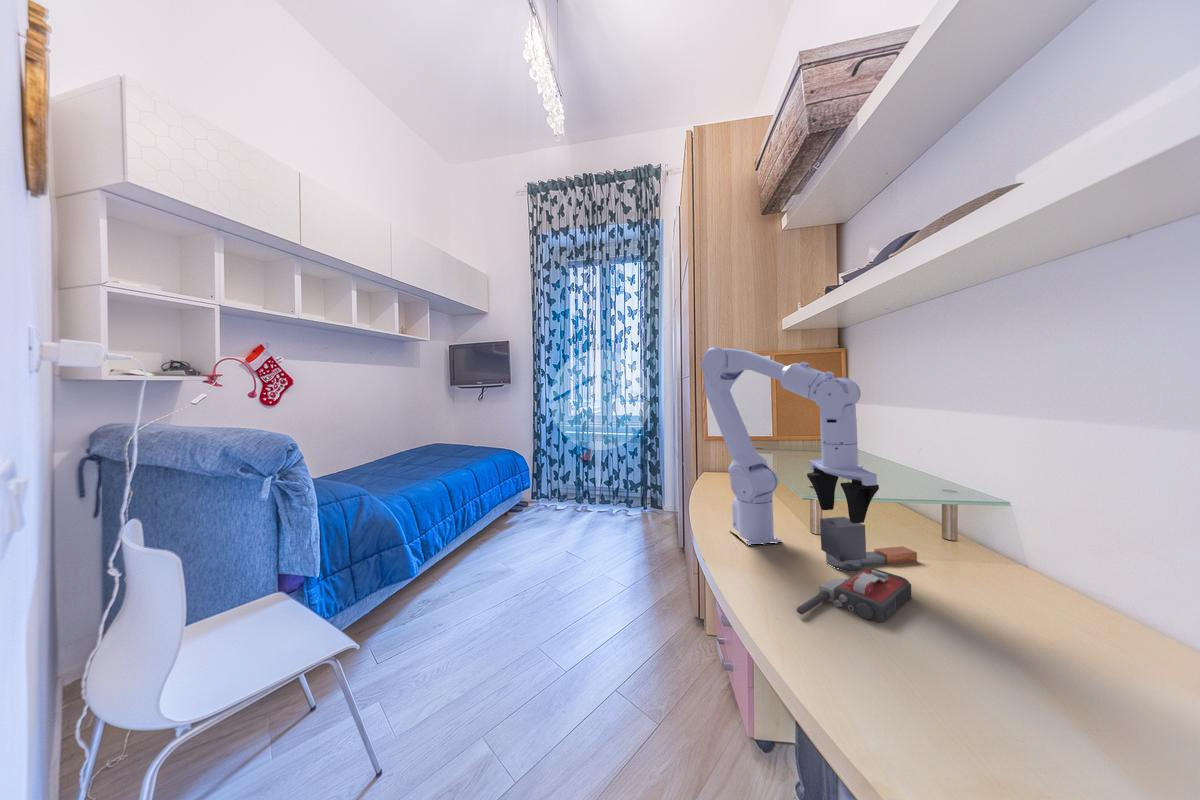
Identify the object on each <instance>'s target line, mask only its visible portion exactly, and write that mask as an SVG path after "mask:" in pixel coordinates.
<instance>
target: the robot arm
mask: <svg viewBox="0 0 1200 800" xmlns="http://www.w3.org/2000/svg"><path fill="white" fill-rule="evenodd" d="M699 365H700V369H701V372H702V374H703V376H704V377H703V378H704V379H703V380H704V382H703V383H704V384H703V385H704V393H705V395H706V398H707V401H708V403H709V405H710V409H711V410H712V413H713V416H714V418H715V420H716V422H717V425H718V428H719V430H720V433H721V435H722V438H723V440H724V442H725V446H726V448H727V450H728V453H729V456H730V458H731V462H730V464H729V466H728V468H727V471H728V474H729V477H730V484H729V485H730V490H731V491H732V493H733V495H734V496H735V497H734V498H733V500H732V504H731V511H732V512H731V514H732V516H731V517H732V528H735V529H736V530H737V531H738V532H739V535H740V536H741V537H743V538H745V539H747V540H749V541H746V543H747V544H761V543H770V542H781V541H783V539H781V538H780V537H778V538H779V539H780V540H778V538H776V539H774V535H775V530H774V526H775V525H774V510H773V509H774V507H773V505H774V504H773V503H774V502H773V498H774V494H773V492H774V491H776V490H777V488H778V486H779V479H778V476H777V473H776V472H775V471H774V469H772V468H771V467H770V466H769V464H768V463H767V460H766V458H764V457H763V456H761V455H760V454H758V452H756V449H755V447H754V444H753V442H752V440H751V437H750V434H749V433H748V430H747V427H746V426H745V423H744V421H743V418H742V415H741V414H740V411H739V409H738V407H737V404H736V401H735V399H734V397H733V395H732V392H731V390H732V387H733V385H734V384H735V383H736V381H737V380H739V378H740V377H741V375H742V374H743V373H744V371H752V372H755V373H758V374H760V375H764V376H767V377H769V378H772V379H776V380H778V381H779V382H780V384H781V387H782V388H783V390H786V391H789V392H791V393H793V394H795V395H798V396H800V397H803V398H805V399H807V400H810V401H813V402H814V403H815V404H816V405H817V407H818V408H819V421H820V422H819V423H820V424H819V425H820V452H821V453H820V454H821V455H820V456H821V459H812V460H811V459H809V470H810V471H812V472H808V473H806V475H807V479H808V480H809V481H810V483H811V486H812V487H813V489H814V490H815V494H816V497H817V499H818V503H819V506H820V509H821V511H832V510H834V507H835V494H836V493H835V492H836V487H837V483H838V479H839V478H842V479H845V480H849V482H848V481H847V482H840V487H841V489H842V491H843V492H844V496H845V500H846V504H847V510H848V517H849V519H850V522H852V523H861V524H863V523H864V522H865V520H866V516H867V512H868V509H869V506H870V503H872V499H873V498H874V497H875V495H876V493H877V492H878V491H879V490H880V485H879V484H878V478H877V477H878V475H877V473H875V472H872V471H869V470H866V469H865V468H863V467H864V466H863V465H860V464H859V454H858V453H859V452H858V451H859V450H858V448H859V447H858V425H857V423H858V421H857V407H856V406H857V405H856V404H857V403H858V402H859V400H860V398H861V388H860V386H859V385H858V383H856V382H855V381H854V380H852V379H850V378H849V377H845V376H843V377H841V376H840V377H836V378H835V376H834V375H835V373H834V372H832V371H826V372H824V371H821V370H818V369H816V368H812V367H810V366H811V364H810V363H808V362H805V361H801V362H800V363H798V362H794V363H791V364H789V365H785V364H783V363H780V362H778V361H775V360H773V359H771V358H769V357H767V356H766V357H765V356H763V355H761V354H759V353H757V352H754V351H750V350H746V349H741V348H738V347H737V348H727V347H724V348H723V347H718V346H712V347H710V348H708V349H707V350H706V351H705V352H704V355H703V357H702V360H701V361H700V364H699ZM747 544H746V545H747Z"/></svg>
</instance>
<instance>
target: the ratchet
mask: <svg viewBox="0 0 1200 800" xmlns="http://www.w3.org/2000/svg"><path fill="white" fill-rule="evenodd" d="M826 562H827V563H828V564H829V565H831V566H833V567H835V568H839V569H842V570H846V571H845V572H849V571H855V572H860V571H862V570H863V567H869V565H871V566H879V564H882V565H887V564H888V565H896V564H897V565H898V564H899V565H900V564H908V563H918V553H917V551H915V550H912V549H910V548H908V547H906V546H892V547H879V548H874V551H866V559H856V560H845V561H840V560H838V559H836V558H835V557H833V556H831V555H829V554H828V553H826V552H825V563H826ZM827 563H826V564H827ZM828 564H827V565H828ZM829 565H828V566H829ZM831 566H830V567H831ZM833 567H832V568H833ZM835 568H834V569H835ZM842 570H841V571H842ZM859 570H860V571H859Z"/></svg>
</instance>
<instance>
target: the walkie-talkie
mask: <svg viewBox="0 0 1200 800" xmlns="http://www.w3.org/2000/svg"><path fill="white" fill-rule="evenodd" d="M818 587H819V588H818V591H819V592H818V594H816V595H815V596H814V597H812V598H811V599H808V600H807V601H805V602H804V603H802V604H801V605H798V606H797V607H796V612H797V613H798V614H800V615H805V614H806V613H807V612H809V611H810V610H812V609H814V608H815V607H817V606H818V605H820V604H822V603H823V602H827V601H828V602H830V603H833V605H834V606H835V607H836V608H842V609H845V610H847V611H850V612H852V613H854V614H857V615H859V617H861V618H863V619H866V620H872V621H874V622H876V623H879V624H884V623H885V622H887V621H888V620H889V619H890V618H891V617H892V616H894V615H895V614H896V613H897V612H898V611H899V610H900V609H901V608H903V607H904V605H906V604H907V603H909V601H910V600H912V584H911V582H910V581H909V580H908V579H907V578H905V577H903V576H900V575H896V574H893V573H891V572H888V571H884V570H881V569H877V568H874V567H873V568H872V567H871V568H865V569H861V570H860V571H858V572H857V573H856V574H854V575H853V576H851V577H849V578H847V577H843V578H841V577H840V578H838V577H837V578H831V579H830V580H829V581H827V582H825V583H821V584H820V585H819V586H818Z"/></svg>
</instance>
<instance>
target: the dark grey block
mask: <svg viewBox="0 0 1200 800" xmlns="http://www.w3.org/2000/svg"><path fill="white" fill-rule="evenodd" d="M819 522H820V524H819V525H820V526H819V527H820V548H821V551H823V552H824V553H825V554H826V553H828V554H829V555H831V556H833V557H835V558H836V559H838V560H840V561H845V560H856V559H866V552H867V541H866V525H865V524H863V523H852V522H850V518H848V517H847V516H838V517H837V516H836V517H825V518H823V517H822V518H819Z"/></svg>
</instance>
